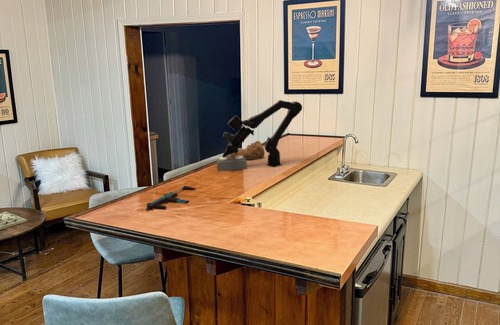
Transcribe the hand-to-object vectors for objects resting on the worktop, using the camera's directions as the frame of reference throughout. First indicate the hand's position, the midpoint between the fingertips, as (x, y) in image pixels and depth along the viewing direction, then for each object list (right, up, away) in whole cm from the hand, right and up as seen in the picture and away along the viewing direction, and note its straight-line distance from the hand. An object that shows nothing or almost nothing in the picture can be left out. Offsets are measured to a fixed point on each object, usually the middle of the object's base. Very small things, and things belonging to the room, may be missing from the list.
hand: (222, 156), depth 230 cm
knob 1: (0, -6, +2) cm, 7 cm away
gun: (-18, -21, -46) cm, 53 cm away
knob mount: (+5, -7, +2) cm, 8 cm away
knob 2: (+9, -6, +2) cm, 11 cm away
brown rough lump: (+15, -1, +23) cm, 28 cm away
